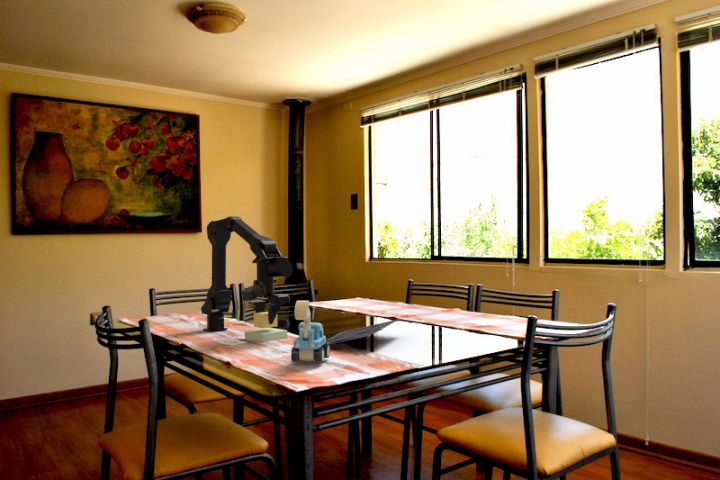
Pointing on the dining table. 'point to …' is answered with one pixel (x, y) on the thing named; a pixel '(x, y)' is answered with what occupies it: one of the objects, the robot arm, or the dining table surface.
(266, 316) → the top brick
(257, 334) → the base brick
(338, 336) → the dark grey flat panel
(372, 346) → the dining table surface
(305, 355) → the toy excavator
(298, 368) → the dining table surface
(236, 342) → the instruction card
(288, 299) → the robot arm
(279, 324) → the tape measure
